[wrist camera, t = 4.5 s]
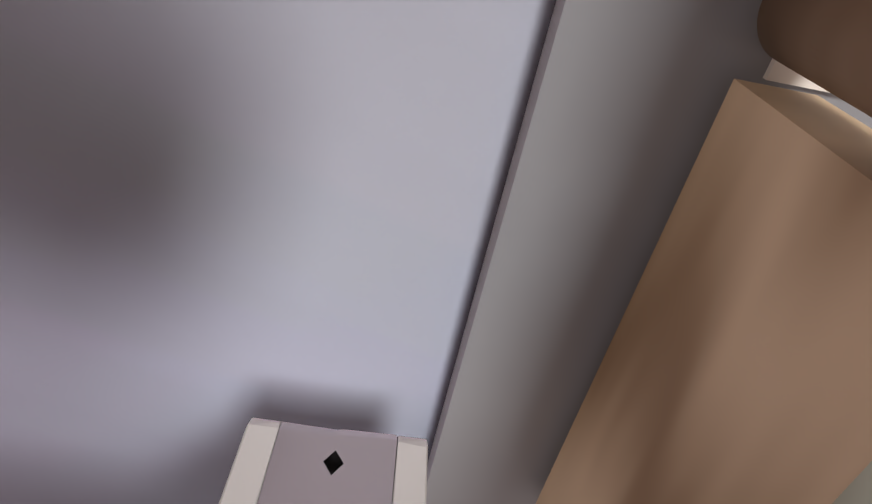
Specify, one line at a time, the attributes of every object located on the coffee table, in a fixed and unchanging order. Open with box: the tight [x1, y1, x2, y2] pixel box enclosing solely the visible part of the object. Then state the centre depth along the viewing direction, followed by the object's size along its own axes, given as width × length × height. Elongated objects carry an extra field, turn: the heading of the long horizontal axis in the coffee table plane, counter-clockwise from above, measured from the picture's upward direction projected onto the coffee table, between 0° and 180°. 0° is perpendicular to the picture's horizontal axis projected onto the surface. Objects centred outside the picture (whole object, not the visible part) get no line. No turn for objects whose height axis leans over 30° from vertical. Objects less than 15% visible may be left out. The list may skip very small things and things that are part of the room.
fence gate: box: [536, 0, 872, 504], centre depth 8 cm, size 12×1×5 cm, turn 170°
